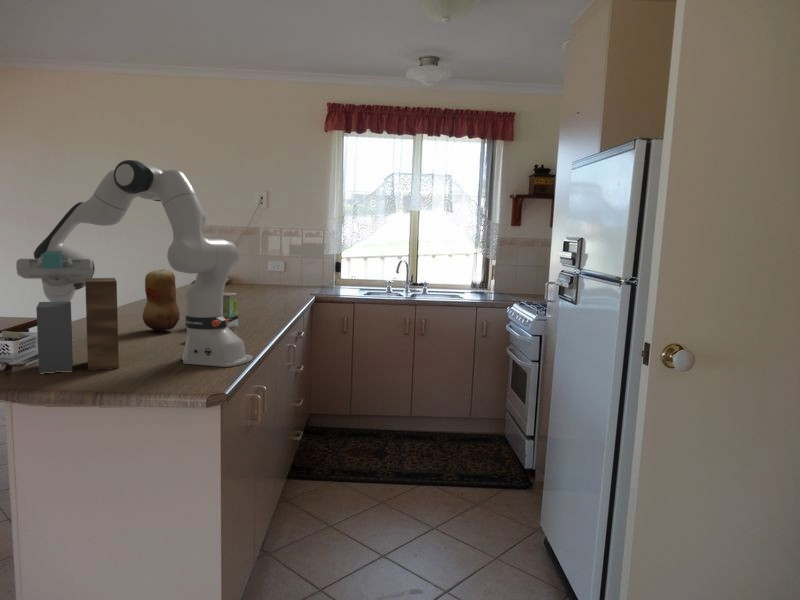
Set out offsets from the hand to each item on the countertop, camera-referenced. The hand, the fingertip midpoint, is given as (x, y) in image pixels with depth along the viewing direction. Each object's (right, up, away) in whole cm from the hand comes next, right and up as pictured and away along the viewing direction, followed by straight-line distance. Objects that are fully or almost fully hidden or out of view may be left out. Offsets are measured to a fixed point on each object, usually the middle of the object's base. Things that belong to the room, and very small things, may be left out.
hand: (54, 256), depth 169 cm
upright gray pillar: (+3, -33, -4) cm, 34 cm away
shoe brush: (+32, -28, +48) cm, 64 cm away
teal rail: (+3, -3, -5) cm, 7 cm away
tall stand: (+14, -33, +2) cm, 36 cm away
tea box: (+26, -25, +72) cm, 80 cm away
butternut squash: (+8, -26, +58) cm, 64 cm away
